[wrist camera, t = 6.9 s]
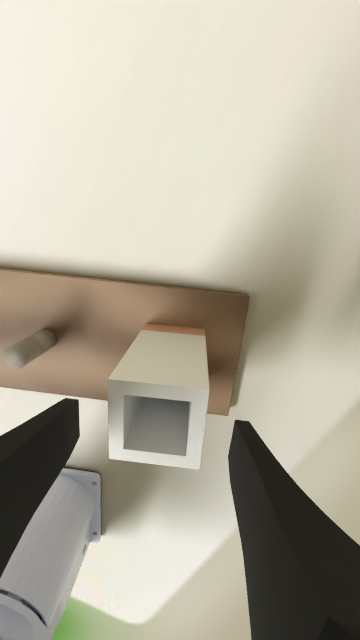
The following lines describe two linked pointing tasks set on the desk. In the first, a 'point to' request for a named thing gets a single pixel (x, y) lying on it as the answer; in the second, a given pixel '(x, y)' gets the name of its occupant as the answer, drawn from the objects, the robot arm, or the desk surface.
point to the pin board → (106, 330)
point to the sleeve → (160, 398)
